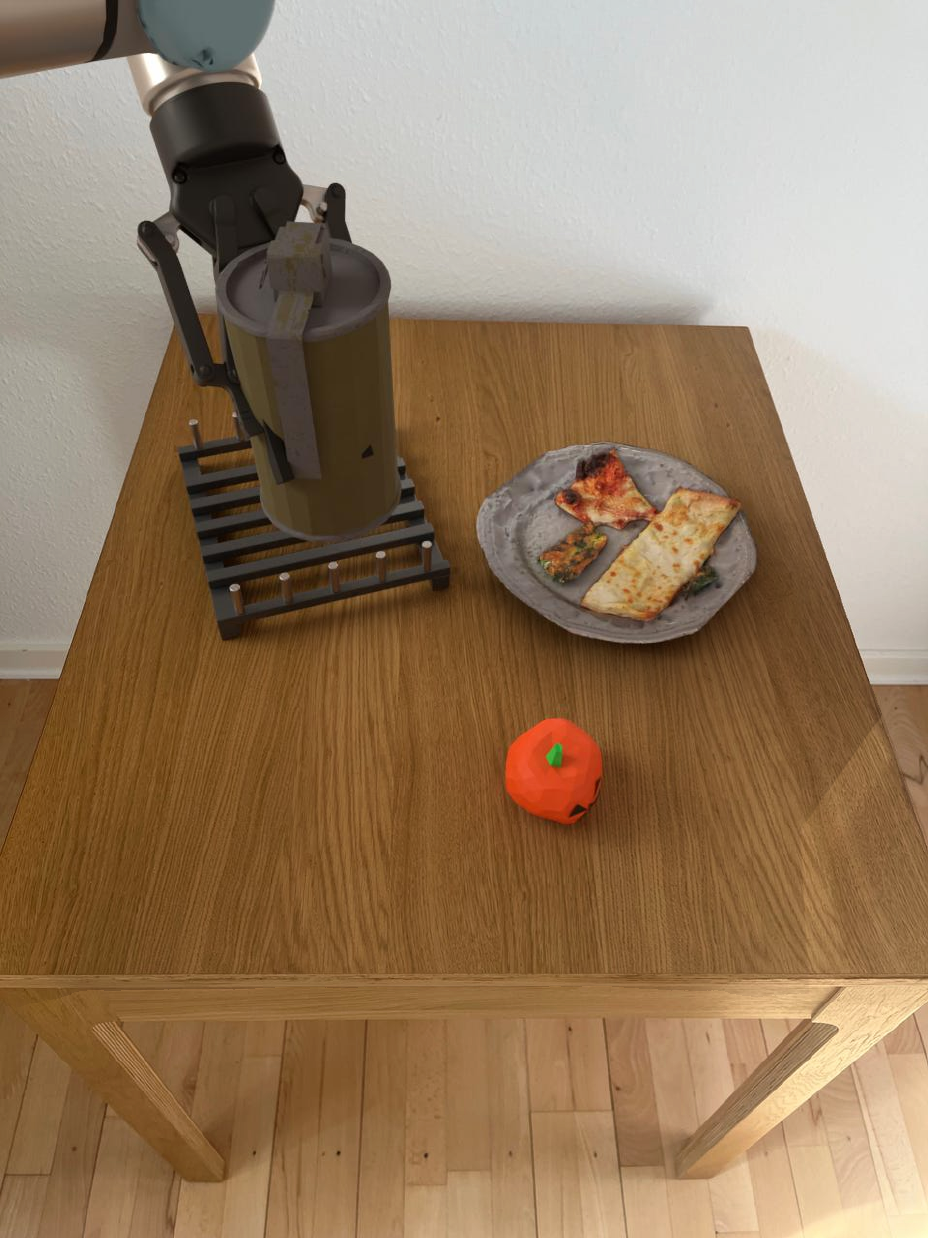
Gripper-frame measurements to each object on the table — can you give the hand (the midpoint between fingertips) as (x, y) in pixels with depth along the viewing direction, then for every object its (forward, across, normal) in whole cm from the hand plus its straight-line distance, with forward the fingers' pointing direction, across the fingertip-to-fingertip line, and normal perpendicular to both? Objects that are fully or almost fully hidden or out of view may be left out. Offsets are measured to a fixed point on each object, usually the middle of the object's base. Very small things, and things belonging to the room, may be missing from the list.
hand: (325, 469), depth 62 cm
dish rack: (+4, -3, -25) cm, 25 cm away
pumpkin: (+27, -9, -2) cm, 29 cm away
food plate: (+14, -27, -15) cm, 34 cm away
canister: (+2, -2, -7) cm, 8 cm away
